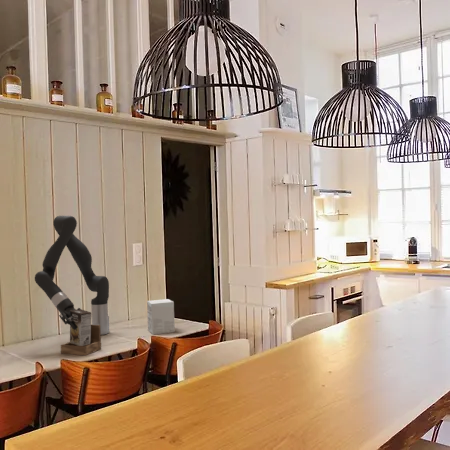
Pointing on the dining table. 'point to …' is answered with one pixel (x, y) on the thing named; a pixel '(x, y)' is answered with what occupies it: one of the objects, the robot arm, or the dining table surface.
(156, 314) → the supplement box
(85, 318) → the coffee box
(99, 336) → the open walnut box
